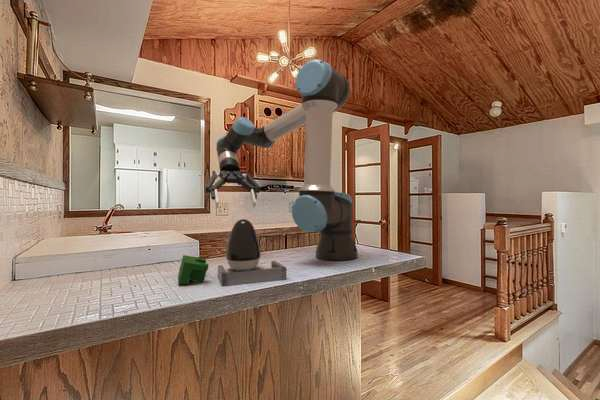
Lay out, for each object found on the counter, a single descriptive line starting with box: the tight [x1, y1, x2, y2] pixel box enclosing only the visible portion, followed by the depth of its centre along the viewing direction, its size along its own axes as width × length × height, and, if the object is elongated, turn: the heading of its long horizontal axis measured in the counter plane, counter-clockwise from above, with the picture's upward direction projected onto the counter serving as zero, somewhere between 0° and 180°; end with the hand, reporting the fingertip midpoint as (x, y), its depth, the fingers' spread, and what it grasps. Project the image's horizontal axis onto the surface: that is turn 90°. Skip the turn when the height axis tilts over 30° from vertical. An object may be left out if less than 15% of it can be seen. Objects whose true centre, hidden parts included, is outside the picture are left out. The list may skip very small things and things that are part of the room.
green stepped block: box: [177, 254, 209, 286], centre depth 79 cm, size 12×6×9 cm, turn 17°
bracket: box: [217, 260, 287, 287], centre depth 80 cm, size 16×10×3 cm, turn 111°
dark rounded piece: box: [225, 218, 262, 271], centre depth 91 cm, size 10×10×15 cm
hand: (236, 204), depth 102 cm, fingers open, 12 cm apart
